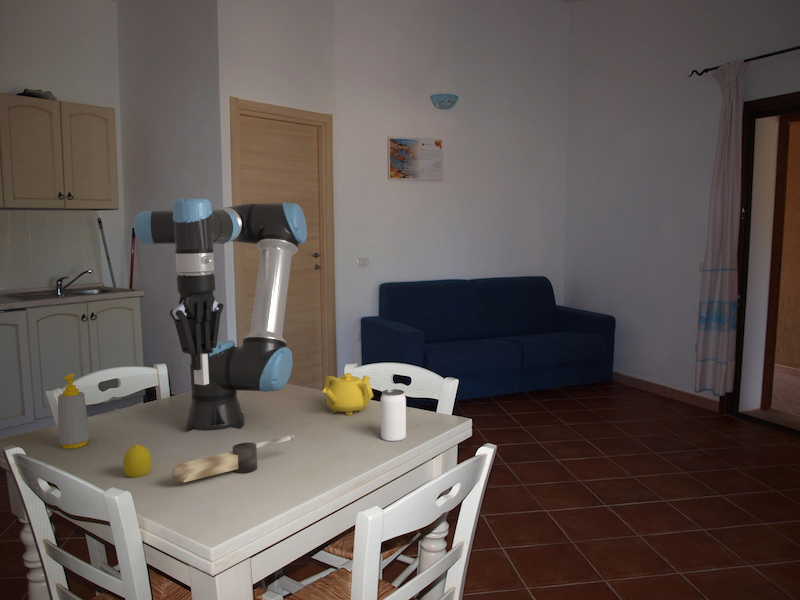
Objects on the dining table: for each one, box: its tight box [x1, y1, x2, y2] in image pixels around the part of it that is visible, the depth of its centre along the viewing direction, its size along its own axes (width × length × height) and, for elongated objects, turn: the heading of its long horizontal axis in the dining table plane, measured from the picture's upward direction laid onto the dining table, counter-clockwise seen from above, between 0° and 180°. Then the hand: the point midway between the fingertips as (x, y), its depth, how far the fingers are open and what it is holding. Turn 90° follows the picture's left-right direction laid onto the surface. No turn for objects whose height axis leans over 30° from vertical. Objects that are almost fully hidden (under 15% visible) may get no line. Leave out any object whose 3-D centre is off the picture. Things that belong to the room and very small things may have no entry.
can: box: [380, 388, 407, 443], centre depth 150 cm, size 6×6×12 cm
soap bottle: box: [57, 373, 91, 450], centre depth 147 cm, size 7×7×18 cm
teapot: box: [322, 372, 374, 417], centre depth 174 cm, size 20×18×11 cm
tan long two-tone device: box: [171, 433, 296, 483], centre depth 127 cm, size 27×5×5 cm, turn 126°
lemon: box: [122, 443, 153, 479], centre depth 126 cm, size 6×6×8 cm
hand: (201, 383), depth 126 cm, fingers closed
